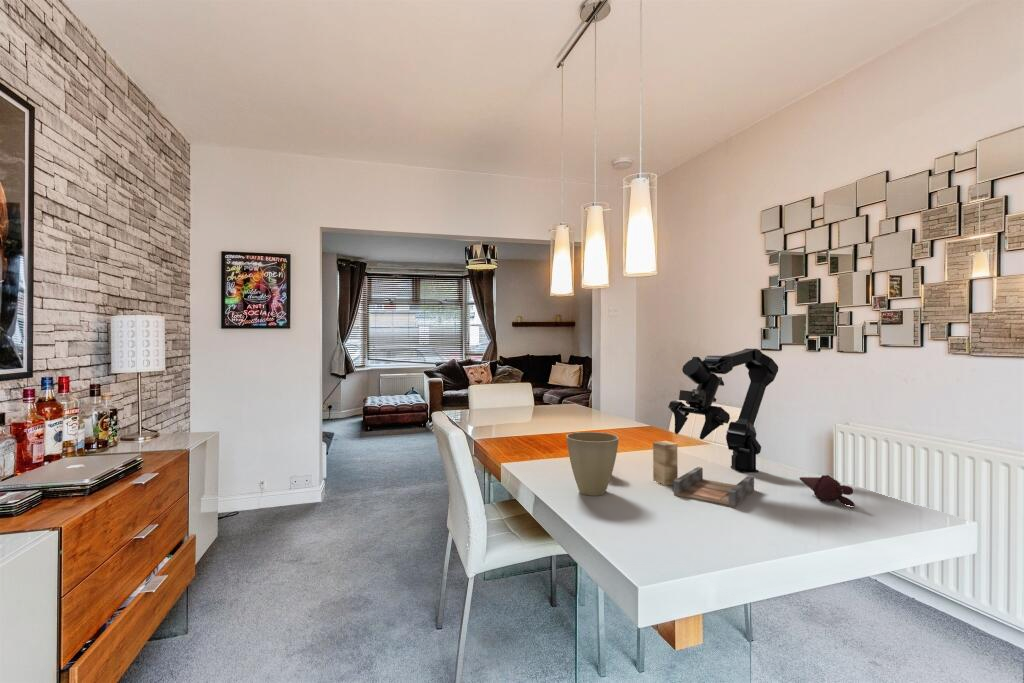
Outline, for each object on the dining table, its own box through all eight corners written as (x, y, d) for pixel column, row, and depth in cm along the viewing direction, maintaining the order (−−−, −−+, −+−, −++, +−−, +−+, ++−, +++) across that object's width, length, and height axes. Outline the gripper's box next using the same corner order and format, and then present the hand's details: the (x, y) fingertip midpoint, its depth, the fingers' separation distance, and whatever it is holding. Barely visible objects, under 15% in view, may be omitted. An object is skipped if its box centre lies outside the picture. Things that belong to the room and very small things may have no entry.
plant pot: (619, 502, 126) (619, 442, 126) (564, 498, 129) (564, 440, 129) (618, 485, 141) (618, 432, 141) (568, 482, 144) (568, 430, 144)
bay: (697, 479, 146) (697, 466, 146) (754, 490, 136) (753, 476, 136) (673, 494, 132) (673, 480, 132) (734, 507, 121) (734, 492, 121)
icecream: (788, 471, 132) (842, 491, 118) (807, 462, 135) (862, 481, 121) (791, 493, 134) (844, 516, 120) (810, 484, 136) (864, 505, 122)
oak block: (666, 479, 147) (665, 440, 147) (677, 483, 143) (677, 443, 143) (653, 481, 145) (653, 442, 145) (664, 485, 141) (664, 445, 141)
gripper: (667, 376, 152) (648, 419, 148) (717, 380, 136) (698, 429, 132) (687, 393, 157) (669, 435, 153) (738, 399, 141) (720, 446, 136)
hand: (688, 436), depth 143 cm, fingers open, 9 cm apart
